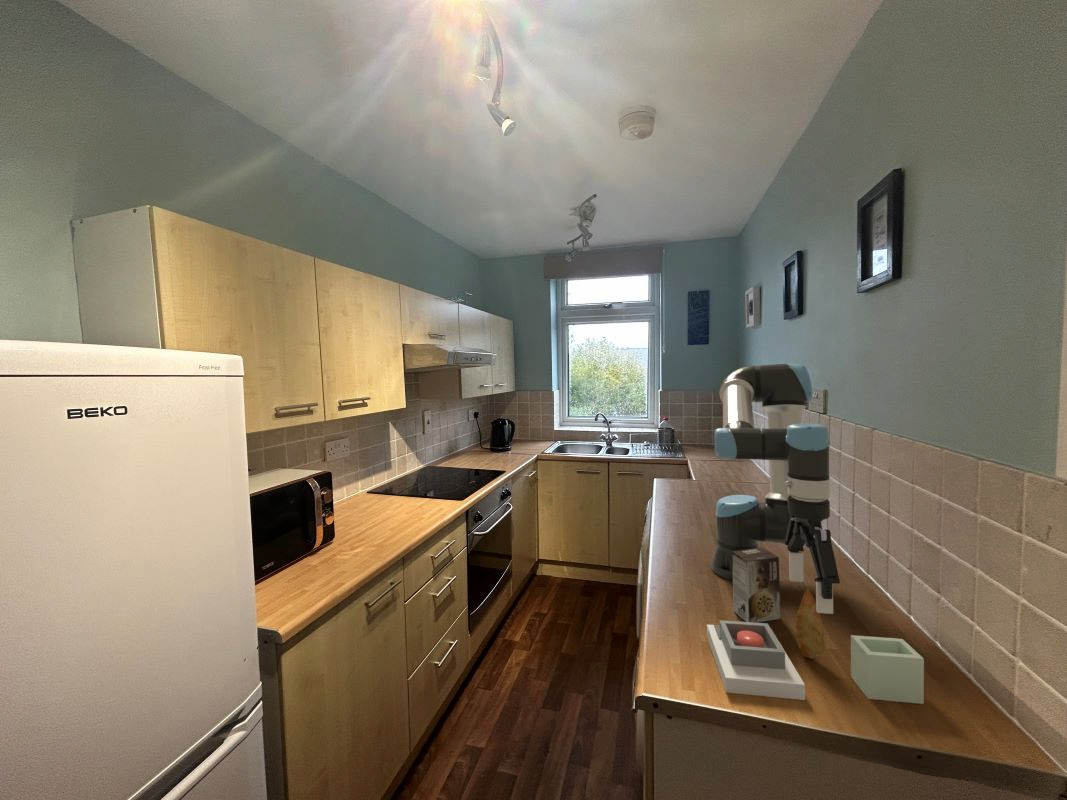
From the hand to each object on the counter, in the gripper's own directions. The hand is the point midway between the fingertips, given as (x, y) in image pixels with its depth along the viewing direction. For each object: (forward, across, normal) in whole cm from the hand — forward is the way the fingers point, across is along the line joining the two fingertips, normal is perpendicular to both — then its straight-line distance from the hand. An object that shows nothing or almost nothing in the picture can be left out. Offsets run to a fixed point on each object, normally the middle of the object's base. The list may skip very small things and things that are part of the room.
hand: (809, 595), depth 91 cm
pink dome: (+11, +4, -13) cm, 17 cm away
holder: (+14, +8, +10) cm, 19 cm away
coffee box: (+14, -16, -6) cm, 22 cm away
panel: (+14, +4, -13) cm, 19 cm away
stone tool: (+14, -1, 0) cm, 14 cm away
